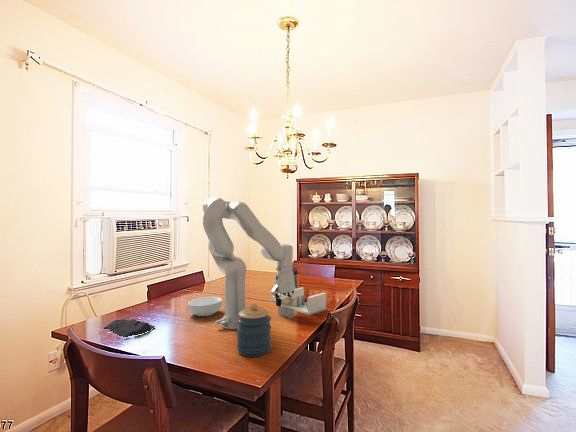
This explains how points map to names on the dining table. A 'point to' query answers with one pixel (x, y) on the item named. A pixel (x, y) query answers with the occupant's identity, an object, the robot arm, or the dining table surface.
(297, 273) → the coffee jar
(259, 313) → the canister
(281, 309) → the block
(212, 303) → the cereal bowl
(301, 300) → the peg stand
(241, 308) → the robot arm
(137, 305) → the dining table surface
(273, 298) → the board
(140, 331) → the dark slate chunk
